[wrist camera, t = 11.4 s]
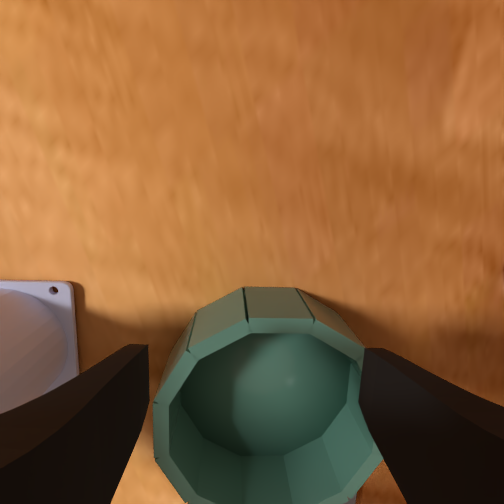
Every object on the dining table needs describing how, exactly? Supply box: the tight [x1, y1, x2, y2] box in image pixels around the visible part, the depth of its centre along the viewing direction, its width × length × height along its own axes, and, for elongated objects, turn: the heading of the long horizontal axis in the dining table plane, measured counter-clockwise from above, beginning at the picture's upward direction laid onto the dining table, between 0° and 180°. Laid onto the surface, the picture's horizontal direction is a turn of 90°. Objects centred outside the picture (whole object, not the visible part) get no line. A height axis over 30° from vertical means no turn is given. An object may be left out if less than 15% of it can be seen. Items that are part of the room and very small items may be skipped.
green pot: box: [153, 287, 383, 504], centre depth 20 cm, size 13×13×5 cm
